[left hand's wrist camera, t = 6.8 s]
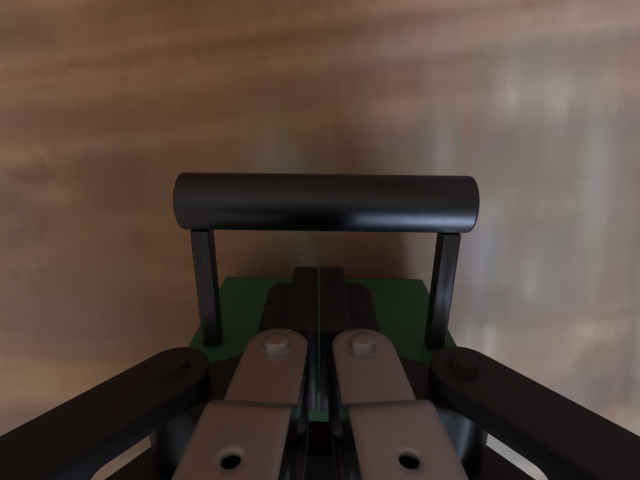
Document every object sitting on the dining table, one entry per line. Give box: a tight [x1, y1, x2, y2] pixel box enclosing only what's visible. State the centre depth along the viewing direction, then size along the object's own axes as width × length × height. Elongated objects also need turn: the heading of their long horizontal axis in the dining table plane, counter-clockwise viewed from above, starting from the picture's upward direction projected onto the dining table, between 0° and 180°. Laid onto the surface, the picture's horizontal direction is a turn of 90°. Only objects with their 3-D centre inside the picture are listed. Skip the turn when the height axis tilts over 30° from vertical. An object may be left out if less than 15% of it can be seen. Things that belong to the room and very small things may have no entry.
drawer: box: [173, 172, 479, 456], centre depth 18 cm, size 26×10×8 cm, turn 179°
